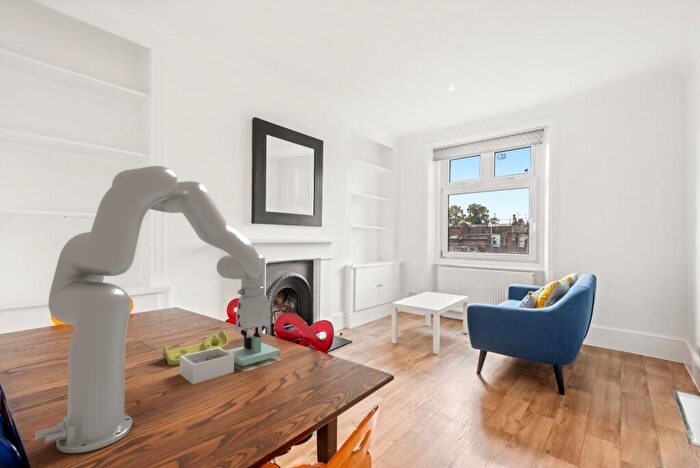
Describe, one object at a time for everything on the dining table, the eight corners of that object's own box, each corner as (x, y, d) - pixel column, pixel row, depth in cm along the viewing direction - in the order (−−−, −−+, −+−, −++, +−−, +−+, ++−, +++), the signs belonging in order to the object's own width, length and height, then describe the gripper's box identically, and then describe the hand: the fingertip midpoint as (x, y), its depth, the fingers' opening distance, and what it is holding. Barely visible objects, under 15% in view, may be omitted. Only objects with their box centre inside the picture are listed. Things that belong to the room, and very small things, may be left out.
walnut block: (211, 374, 100) (211, 360, 100) (205, 370, 103) (205, 357, 103) (224, 370, 103) (224, 357, 103) (218, 367, 105) (218, 354, 105)
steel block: (194, 379, 96) (194, 365, 96) (188, 375, 99) (188, 361, 99) (208, 375, 99) (208, 361, 99) (202, 371, 102) (202, 358, 102)
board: (243, 374, 102) (243, 371, 102) (222, 362, 111) (222, 359, 111) (282, 362, 112) (282, 359, 112) (259, 352, 121) (259, 349, 121)
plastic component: (170, 362, 105) (162, 341, 112) (169, 380, 108) (162, 358, 114) (232, 345, 118) (222, 327, 125) (230, 361, 121) (220, 343, 127)
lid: (241, 366, 102) (241, 345, 103) (223, 356, 111) (224, 337, 111) (279, 355, 112) (280, 336, 113) (260, 347, 121) (261, 329, 121)
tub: (192, 387, 93) (193, 365, 93) (179, 376, 100) (179, 356, 100) (233, 374, 102) (234, 354, 102) (218, 365, 109) (219, 347, 109)
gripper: (235, 296, 103) (234, 356, 103) (279, 290, 115) (279, 345, 115) (224, 293, 109) (223, 350, 108) (267, 288, 120) (267, 340, 120)
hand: (252, 347), depth 112 cm, fingers closed on lid
